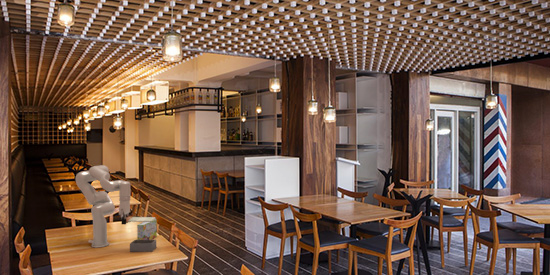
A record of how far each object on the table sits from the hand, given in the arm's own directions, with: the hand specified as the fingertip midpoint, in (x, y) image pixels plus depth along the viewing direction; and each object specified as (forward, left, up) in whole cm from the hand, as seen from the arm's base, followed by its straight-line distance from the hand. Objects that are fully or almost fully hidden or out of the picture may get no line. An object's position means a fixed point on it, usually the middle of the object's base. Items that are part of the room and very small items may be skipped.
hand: (125, 223), depth 290 cm
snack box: (+8, +25, -20) cm, 33 cm away
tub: (+13, 0, -20) cm, 24 cm away
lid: (+10, 0, +1) cm, 10 cm away
